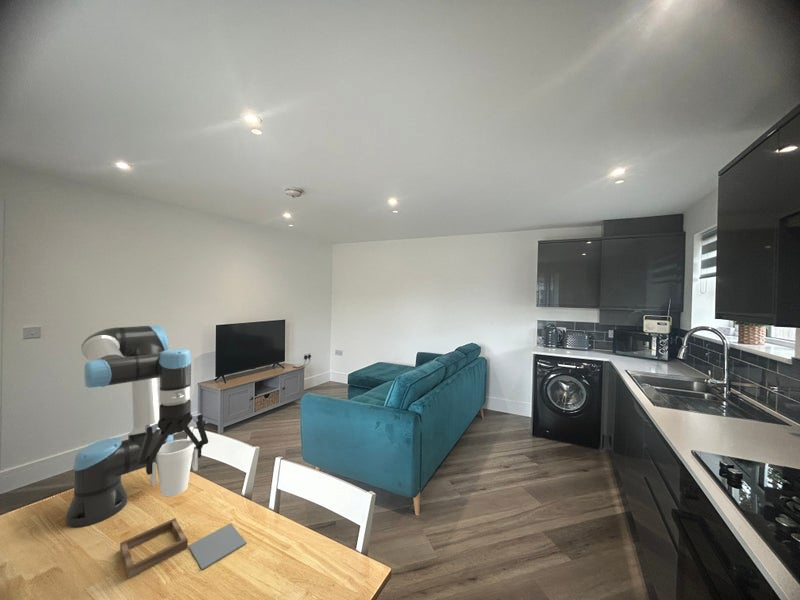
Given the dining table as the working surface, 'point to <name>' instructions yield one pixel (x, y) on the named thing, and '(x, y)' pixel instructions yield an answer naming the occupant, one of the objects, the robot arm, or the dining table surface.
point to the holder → (157, 557)
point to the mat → (216, 546)
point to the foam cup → (174, 466)
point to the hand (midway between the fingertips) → (175, 476)
